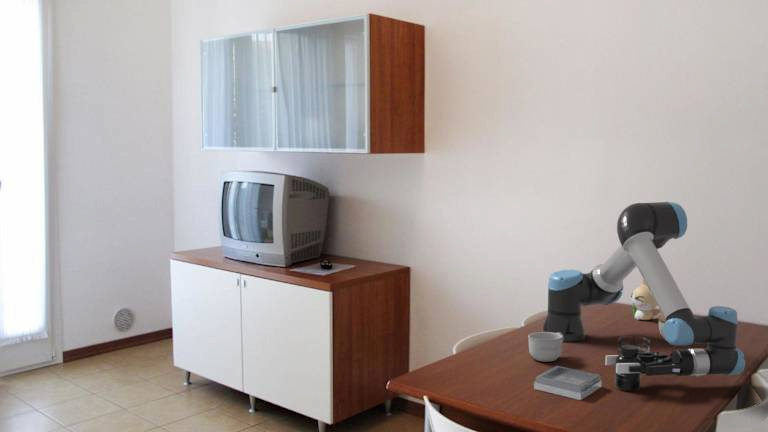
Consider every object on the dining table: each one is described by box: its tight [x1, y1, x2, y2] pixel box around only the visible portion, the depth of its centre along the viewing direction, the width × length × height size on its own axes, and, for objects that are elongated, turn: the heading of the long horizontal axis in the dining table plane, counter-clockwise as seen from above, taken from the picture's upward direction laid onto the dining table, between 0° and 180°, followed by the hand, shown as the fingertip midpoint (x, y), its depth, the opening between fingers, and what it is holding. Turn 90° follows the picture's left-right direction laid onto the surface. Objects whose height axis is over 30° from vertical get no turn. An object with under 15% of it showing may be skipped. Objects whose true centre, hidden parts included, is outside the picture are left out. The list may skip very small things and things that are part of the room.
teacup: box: [527, 331, 564, 363], centre depth 234 cm, size 14×11×8 cm
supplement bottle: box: [614, 344, 642, 392], centre depth 207 cm, size 7×7×12 cm
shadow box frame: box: [533, 365, 603, 401], centre depth 207 cm, size 14×14×4 cm
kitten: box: [630, 279, 663, 321], centre depth 286 cm, size 15×10×15 cm
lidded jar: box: [658, 315, 667, 342], centre depth 257 cm, size 11×11×9 cm
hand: (611, 364), depth 206 cm, fingers closed on supplement bottle, 7 cm apart
